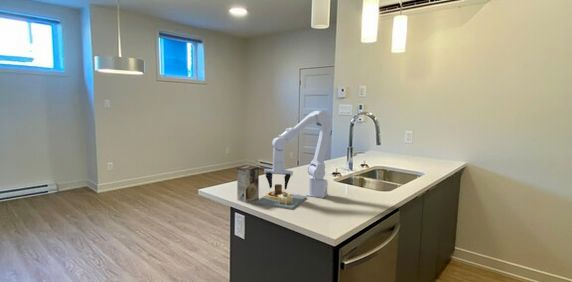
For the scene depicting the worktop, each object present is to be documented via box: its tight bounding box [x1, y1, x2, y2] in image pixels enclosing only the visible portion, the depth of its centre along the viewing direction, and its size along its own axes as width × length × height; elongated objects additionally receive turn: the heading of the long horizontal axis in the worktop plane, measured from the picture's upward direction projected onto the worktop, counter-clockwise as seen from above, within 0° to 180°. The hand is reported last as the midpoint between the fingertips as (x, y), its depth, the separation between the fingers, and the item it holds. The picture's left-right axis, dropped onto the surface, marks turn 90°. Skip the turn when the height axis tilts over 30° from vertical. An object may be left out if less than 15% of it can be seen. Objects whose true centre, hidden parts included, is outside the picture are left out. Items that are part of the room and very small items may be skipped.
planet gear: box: [270, 183, 287, 197], centre depth 158 cm, size 9×9×6 cm
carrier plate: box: [254, 190, 307, 210], centre depth 153 cm, size 19×19×5 cm
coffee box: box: [236, 164, 260, 203], centre depth 154 cm, size 9×6×16 cm
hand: (278, 188), depth 158 cm, fingers open, 7 cm apart
